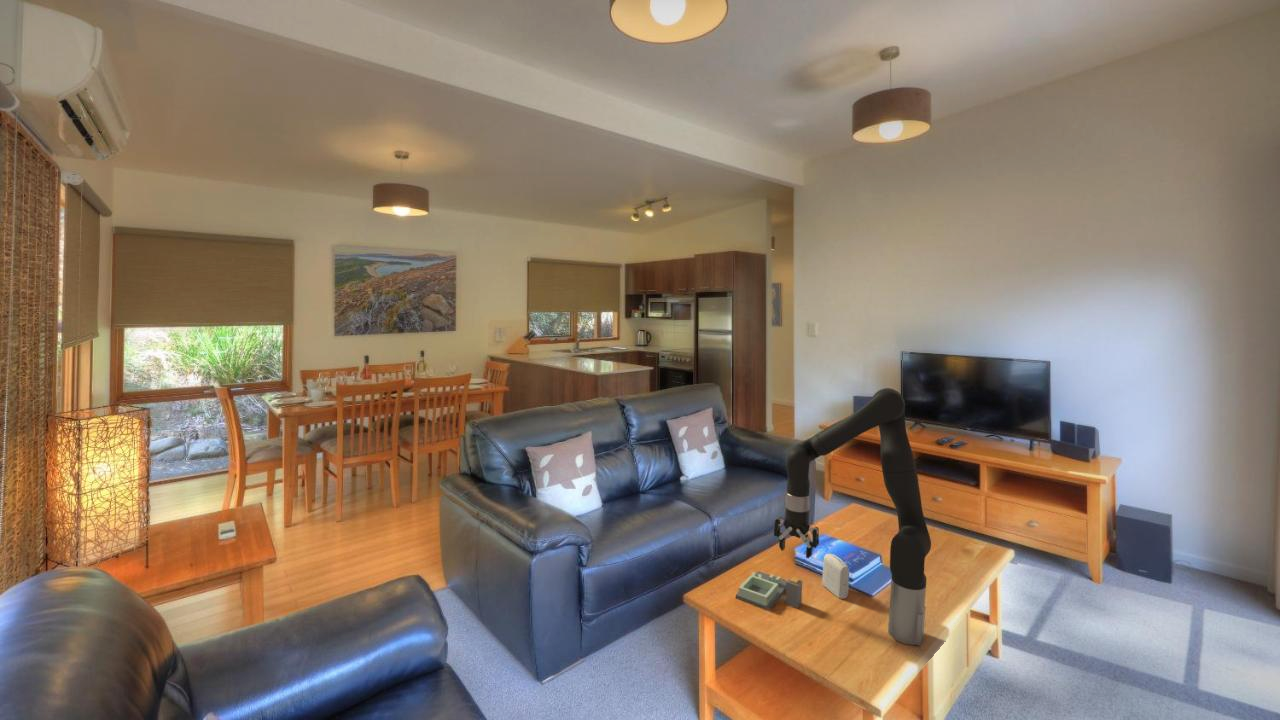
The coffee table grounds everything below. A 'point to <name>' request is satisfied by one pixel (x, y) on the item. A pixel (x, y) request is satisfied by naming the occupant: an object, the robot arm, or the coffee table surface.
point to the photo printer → (835, 576)
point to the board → (771, 578)
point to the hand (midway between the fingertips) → (795, 553)
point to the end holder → (757, 596)
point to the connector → (793, 592)
